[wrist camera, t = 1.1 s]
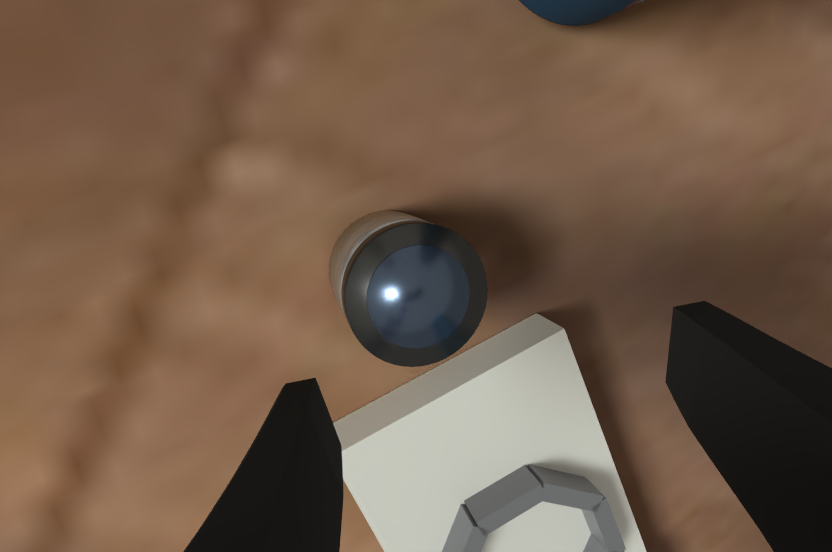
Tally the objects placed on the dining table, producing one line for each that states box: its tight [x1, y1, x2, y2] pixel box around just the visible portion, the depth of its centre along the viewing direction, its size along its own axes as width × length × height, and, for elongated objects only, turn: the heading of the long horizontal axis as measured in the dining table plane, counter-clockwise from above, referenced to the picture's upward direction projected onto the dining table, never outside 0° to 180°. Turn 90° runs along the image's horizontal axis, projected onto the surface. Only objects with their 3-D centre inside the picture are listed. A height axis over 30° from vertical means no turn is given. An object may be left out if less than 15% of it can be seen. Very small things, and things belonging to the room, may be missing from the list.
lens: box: [329, 211, 487, 367], centre depth 20 cm, size 5×5×5 cm
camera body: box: [333, 313, 647, 552], centre depth 25 cm, size 18×11×4 cm, turn 24°
